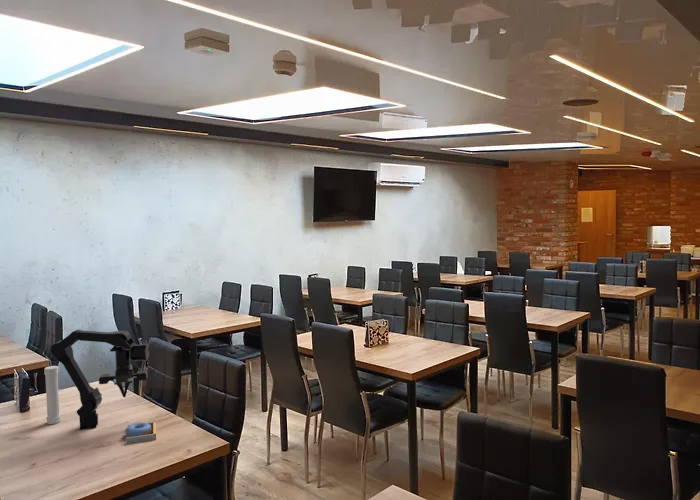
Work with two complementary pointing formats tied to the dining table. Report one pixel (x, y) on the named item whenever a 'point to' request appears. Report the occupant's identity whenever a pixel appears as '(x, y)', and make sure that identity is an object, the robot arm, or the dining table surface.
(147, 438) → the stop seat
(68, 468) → the dining table surface
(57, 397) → the pipe
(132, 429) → the doughnut
